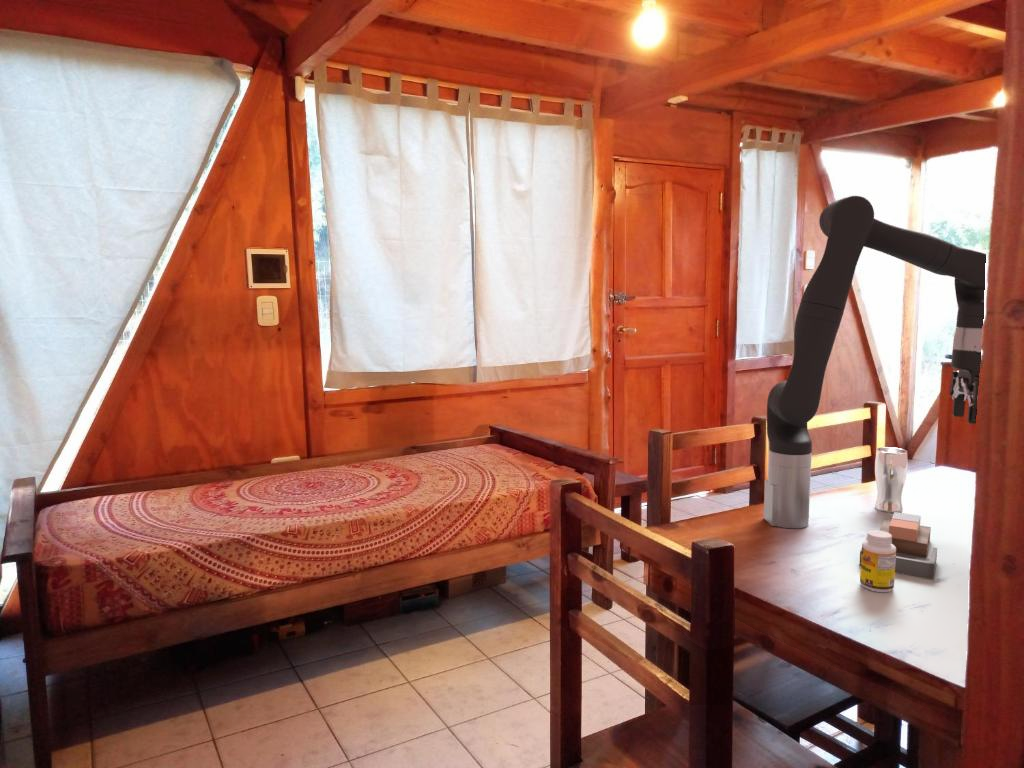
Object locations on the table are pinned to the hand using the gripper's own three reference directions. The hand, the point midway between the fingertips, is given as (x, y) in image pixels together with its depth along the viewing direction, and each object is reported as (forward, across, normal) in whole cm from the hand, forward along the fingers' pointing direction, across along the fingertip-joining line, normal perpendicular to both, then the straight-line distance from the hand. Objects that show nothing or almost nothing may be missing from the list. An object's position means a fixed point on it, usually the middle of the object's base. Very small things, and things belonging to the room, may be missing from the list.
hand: (965, 419), depth 158 cm
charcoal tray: (+25, +27, -20) cm, 42 cm away
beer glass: (+25, -10, -11) cm, 29 cm away
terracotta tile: (+22, +19, -16) cm, 33 cm away
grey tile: (+22, +14, -14) cm, 30 cm away
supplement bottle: (+26, +40, -27) cm, 55 cm away
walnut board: (+25, +16, -15) cm, 33 cm away
